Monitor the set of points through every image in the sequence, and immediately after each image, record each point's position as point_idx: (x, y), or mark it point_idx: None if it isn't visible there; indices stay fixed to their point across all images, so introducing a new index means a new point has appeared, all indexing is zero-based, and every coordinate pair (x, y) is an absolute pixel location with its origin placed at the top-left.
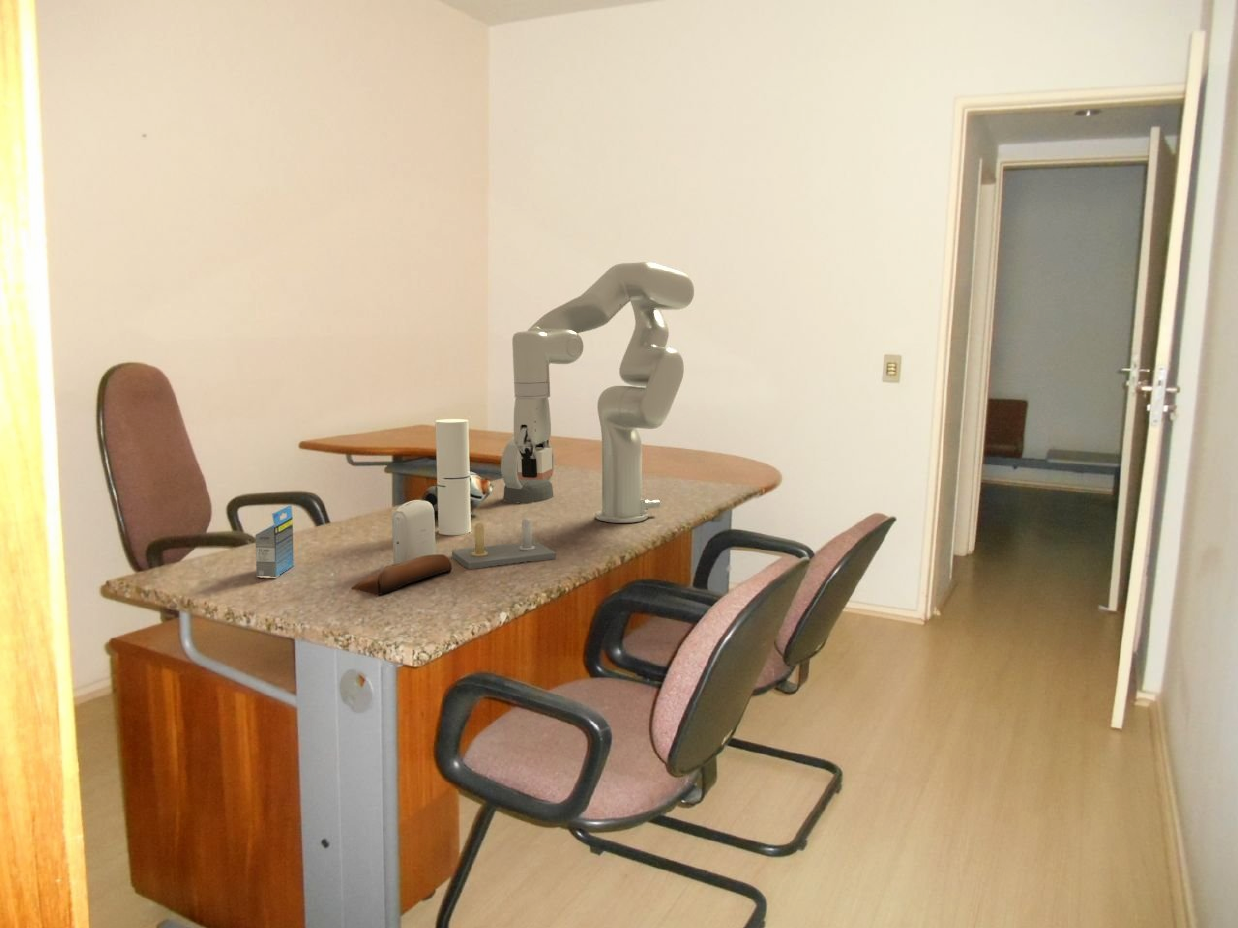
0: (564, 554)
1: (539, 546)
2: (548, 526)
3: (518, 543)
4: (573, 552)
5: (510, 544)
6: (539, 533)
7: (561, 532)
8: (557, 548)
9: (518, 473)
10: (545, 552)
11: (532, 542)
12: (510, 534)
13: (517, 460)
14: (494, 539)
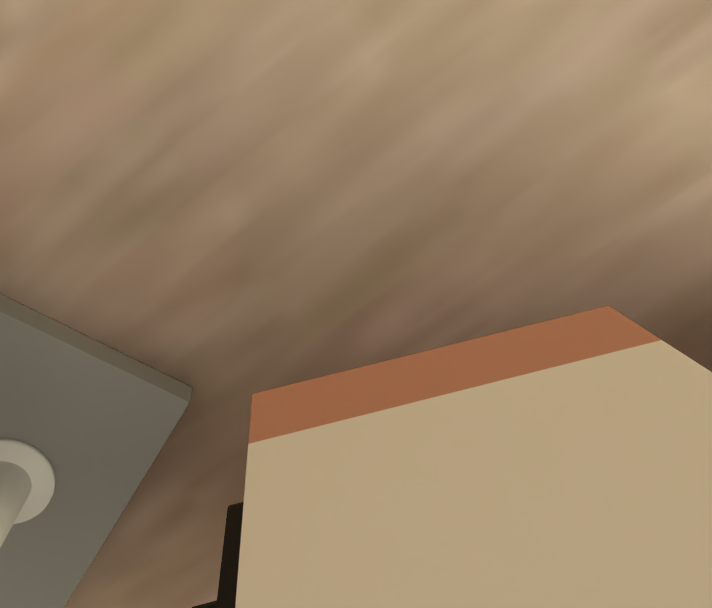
0: (151, 592)
1: (97, 497)
2: (663, 138)
3: (74, 362)
4: (210, 600)
5: (20, 340)
6: (476, 207)
7: (555, 300)
8: (231, 498)
9: (253, 438)
10: (11, 598)
11: (149, 411)
12: (364, 58)
13: (239, 578)
14: (188, 53)
